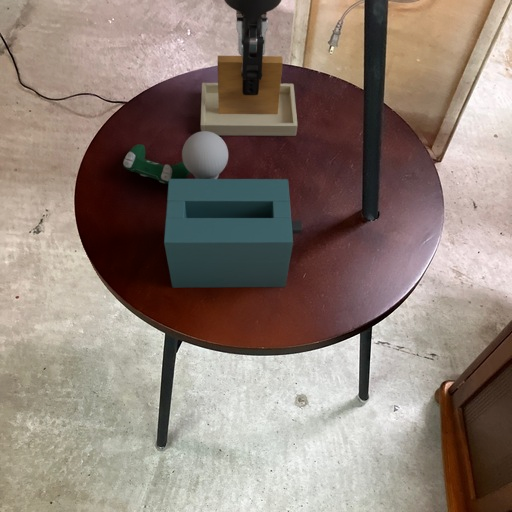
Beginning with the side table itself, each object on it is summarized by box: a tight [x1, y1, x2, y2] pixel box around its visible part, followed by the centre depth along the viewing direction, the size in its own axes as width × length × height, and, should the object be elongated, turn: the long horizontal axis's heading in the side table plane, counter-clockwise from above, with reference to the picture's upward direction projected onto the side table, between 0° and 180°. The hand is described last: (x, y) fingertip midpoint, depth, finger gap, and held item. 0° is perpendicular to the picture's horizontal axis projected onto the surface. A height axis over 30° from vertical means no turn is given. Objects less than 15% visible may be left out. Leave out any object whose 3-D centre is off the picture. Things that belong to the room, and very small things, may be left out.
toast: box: [217, 55, 284, 114], centre depth 80 cm, size 9×1×10 cm, turn 92°
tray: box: [200, 82, 298, 137], centre depth 84 cm, size 14×9×2 cm, turn 92°
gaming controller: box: [122, 143, 191, 185], centre depth 76 cm, size 9×4×6 cm
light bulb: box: [181, 130, 229, 179], centre depth 72 cm, size 6×6×10 cm
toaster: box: [163, 178, 303, 289], centre depth 66 cm, size 16×9×10 cm, turn 92°
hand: (249, 73), depth 78 cm, fingers open, 8 cm apart
